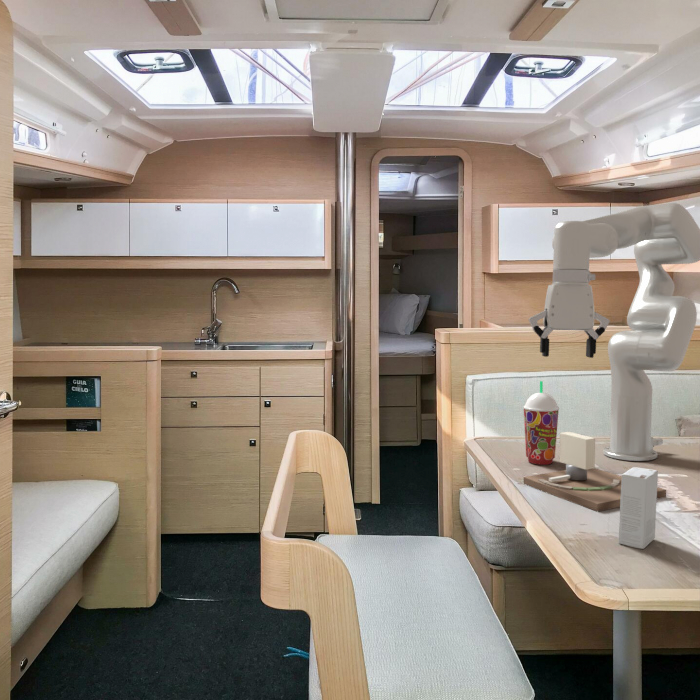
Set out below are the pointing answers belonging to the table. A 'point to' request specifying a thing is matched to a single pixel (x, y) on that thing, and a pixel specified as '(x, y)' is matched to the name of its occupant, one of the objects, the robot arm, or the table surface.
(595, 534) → the table surface
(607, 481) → the tuner board
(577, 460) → the pointer knob
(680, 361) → the robot arm
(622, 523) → the skincare box
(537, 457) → the smoothie
